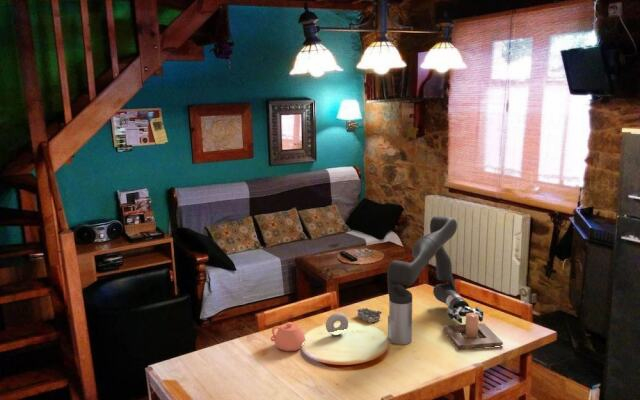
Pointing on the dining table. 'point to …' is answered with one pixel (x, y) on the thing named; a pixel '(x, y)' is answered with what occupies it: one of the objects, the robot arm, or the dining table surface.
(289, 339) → the sugar bowl
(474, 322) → the peg
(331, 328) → the donut
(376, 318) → the egg carton
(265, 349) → the dining table surface
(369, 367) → the dining table surface
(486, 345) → the hole plate
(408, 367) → the dining table surface
